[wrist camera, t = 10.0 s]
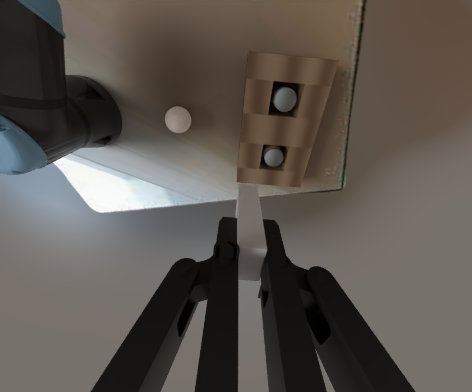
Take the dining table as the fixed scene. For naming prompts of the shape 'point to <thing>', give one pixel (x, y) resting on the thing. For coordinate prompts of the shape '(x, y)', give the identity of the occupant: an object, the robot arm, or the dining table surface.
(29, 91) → the robot arm
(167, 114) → the egg
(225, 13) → the dining table surface
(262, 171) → the walnut board
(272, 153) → the dowel
